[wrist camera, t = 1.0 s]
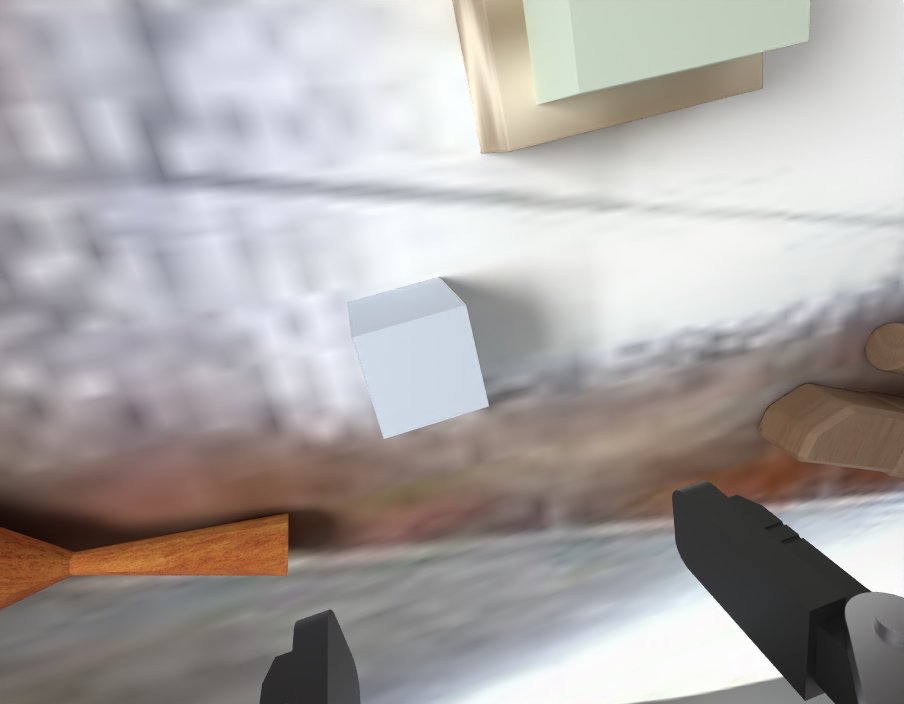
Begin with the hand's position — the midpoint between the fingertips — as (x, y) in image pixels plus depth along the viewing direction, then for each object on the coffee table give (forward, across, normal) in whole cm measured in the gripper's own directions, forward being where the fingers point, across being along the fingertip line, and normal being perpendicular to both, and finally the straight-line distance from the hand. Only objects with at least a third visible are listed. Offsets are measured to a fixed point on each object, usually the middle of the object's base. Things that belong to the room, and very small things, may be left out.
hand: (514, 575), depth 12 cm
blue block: (+18, 0, 0) cm, 18 cm away
